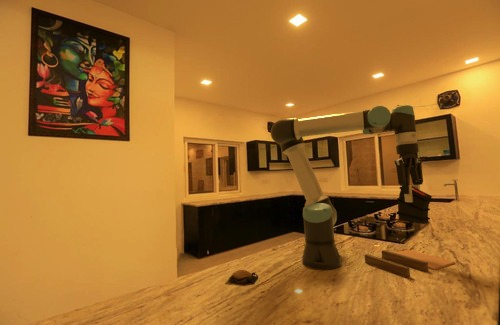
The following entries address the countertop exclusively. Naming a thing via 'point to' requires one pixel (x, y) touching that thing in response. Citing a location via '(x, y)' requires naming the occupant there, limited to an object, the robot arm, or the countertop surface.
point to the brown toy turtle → (242, 278)
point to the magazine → (414, 207)
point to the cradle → (394, 266)
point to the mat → (427, 259)
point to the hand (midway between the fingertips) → (413, 201)
